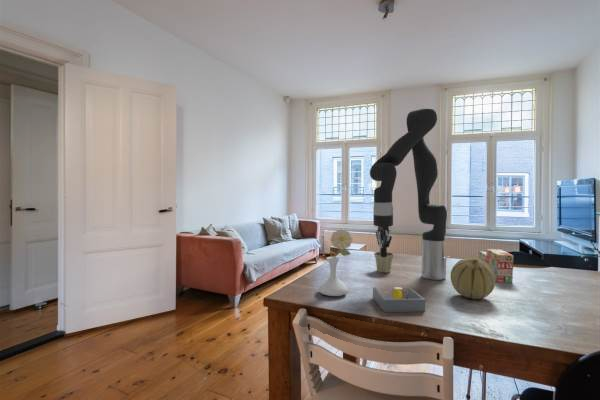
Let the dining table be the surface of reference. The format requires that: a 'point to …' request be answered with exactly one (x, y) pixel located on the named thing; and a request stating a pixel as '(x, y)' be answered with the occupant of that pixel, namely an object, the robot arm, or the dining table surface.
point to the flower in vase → (333, 284)
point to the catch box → (400, 302)
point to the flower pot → (383, 262)
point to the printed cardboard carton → (499, 264)
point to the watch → (397, 293)
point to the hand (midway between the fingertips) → (383, 256)
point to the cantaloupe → (472, 278)
